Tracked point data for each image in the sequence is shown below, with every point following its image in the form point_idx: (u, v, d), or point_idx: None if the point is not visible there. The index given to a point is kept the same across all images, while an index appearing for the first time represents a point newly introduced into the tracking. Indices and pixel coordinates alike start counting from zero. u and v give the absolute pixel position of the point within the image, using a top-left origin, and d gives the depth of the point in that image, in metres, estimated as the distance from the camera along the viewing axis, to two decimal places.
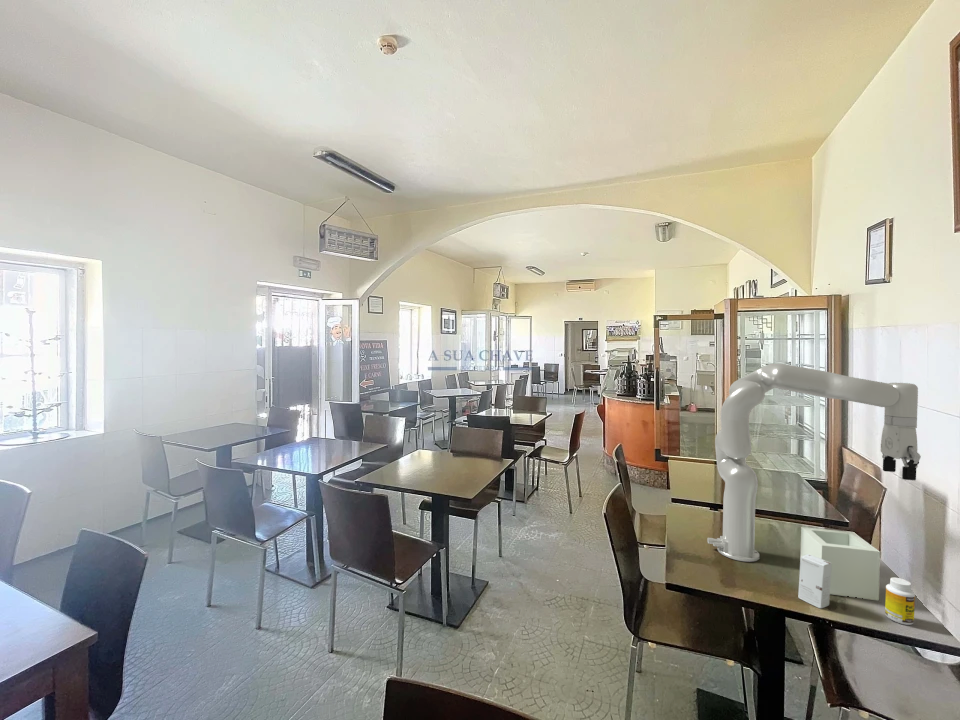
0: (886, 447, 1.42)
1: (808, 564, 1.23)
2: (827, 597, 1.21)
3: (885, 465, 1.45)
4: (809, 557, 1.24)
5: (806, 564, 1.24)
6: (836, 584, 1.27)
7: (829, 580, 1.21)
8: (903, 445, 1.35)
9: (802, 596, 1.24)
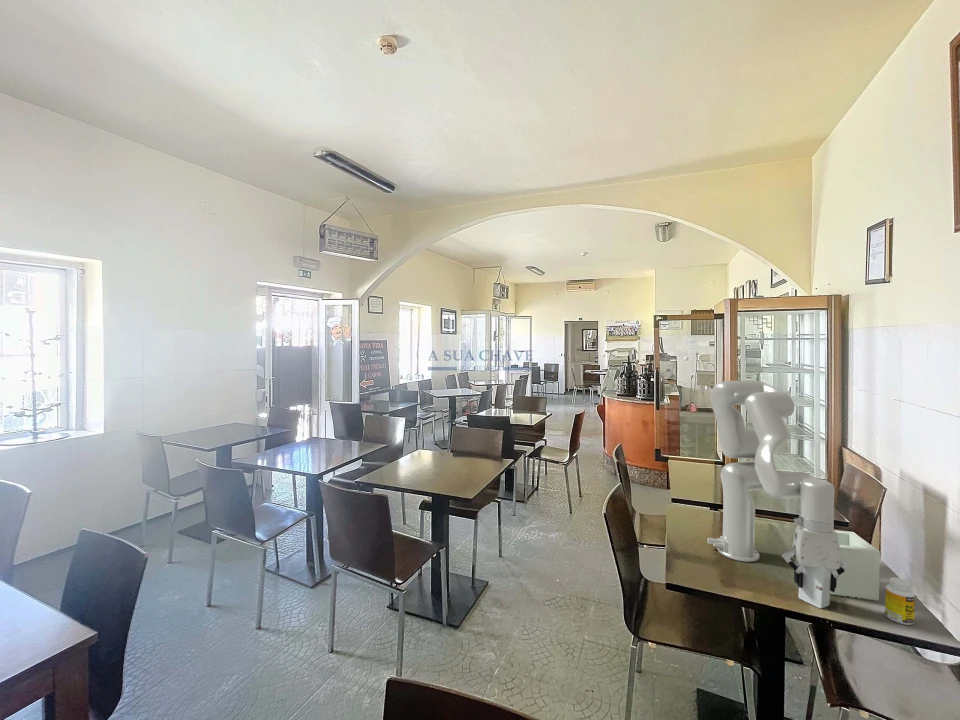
0: (815, 558, 1.21)
1: None
2: (827, 597, 1.21)
3: (802, 580, 1.23)
4: None
5: None
6: (836, 584, 1.27)
7: (829, 580, 1.21)
8: None
9: (802, 596, 1.24)
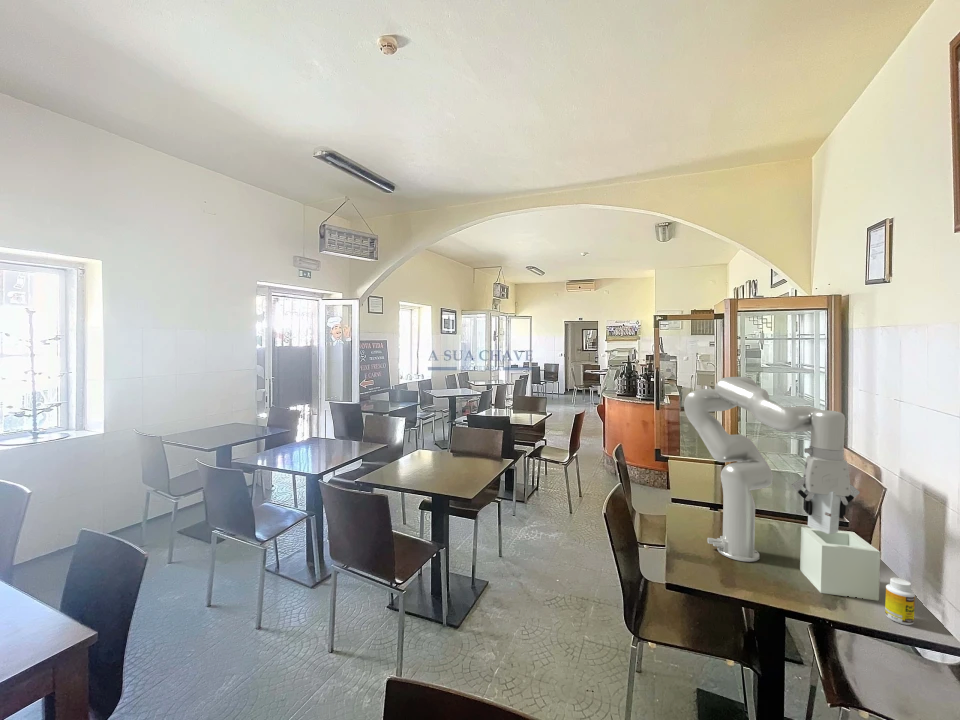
0: (824, 486, 1.24)
1: None
2: (836, 524, 1.24)
3: (811, 508, 1.26)
4: None
5: None
6: (836, 584, 1.27)
7: (838, 507, 1.24)
8: None
9: (811, 524, 1.28)
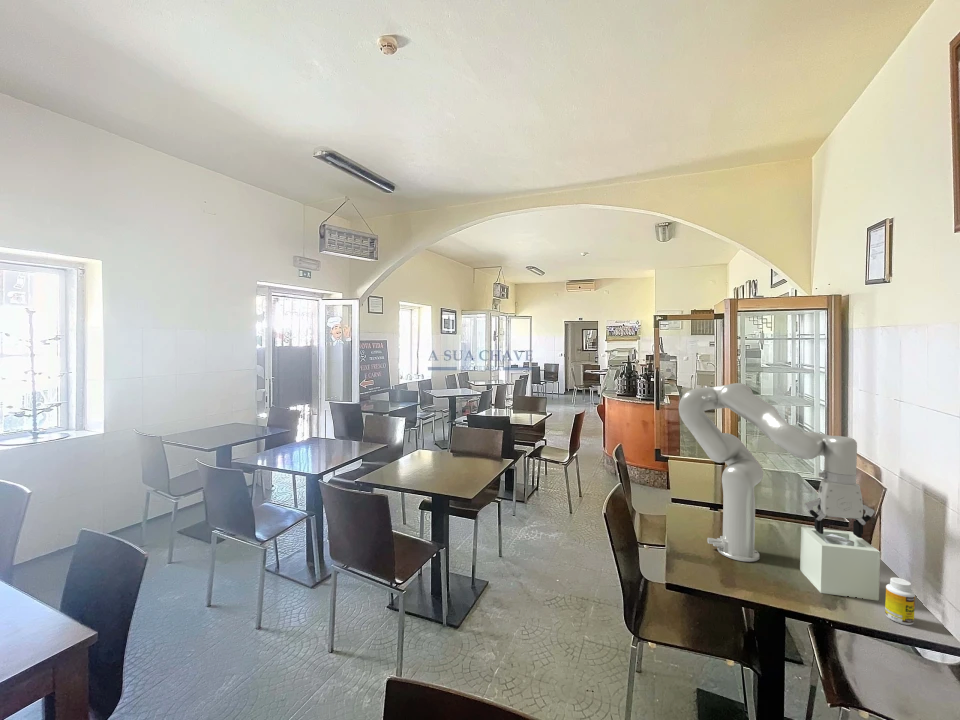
0: (839, 509, 1.30)
1: (832, 542, 1.33)
2: None
3: (822, 527, 1.33)
4: (833, 536, 1.34)
5: (830, 543, 1.33)
6: (836, 584, 1.27)
7: None
8: None
9: None
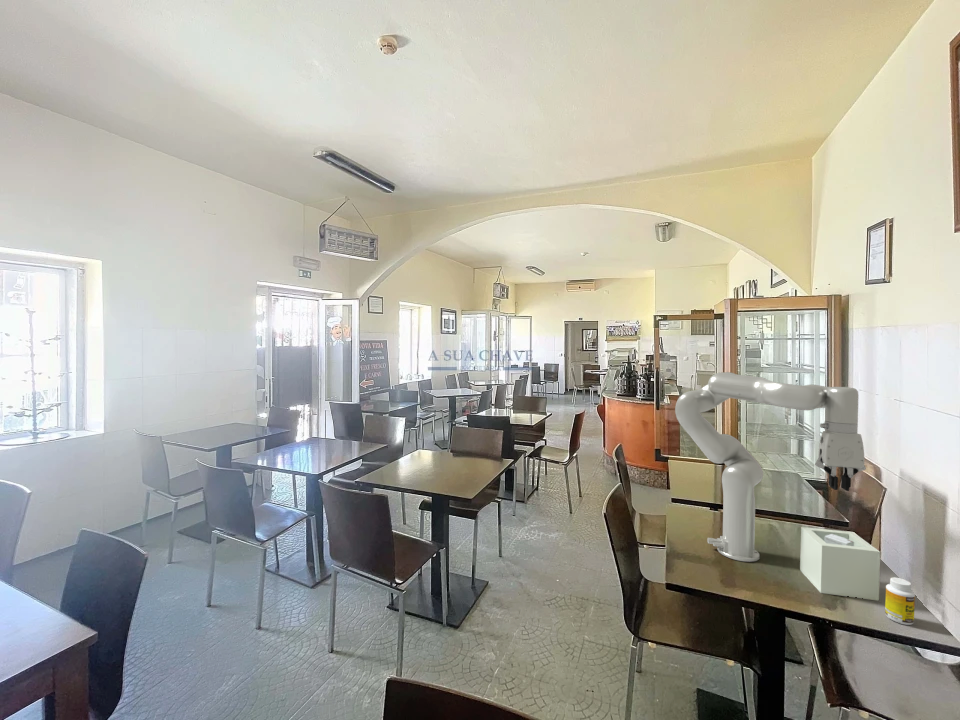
0: (840, 458, 1.30)
1: (832, 542, 1.33)
2: None
3: None
4: (833, 536, 1.34)
5: (830, 543, 1.33)
6: (836, 584, 1.27)
7: None
8: None
9: None
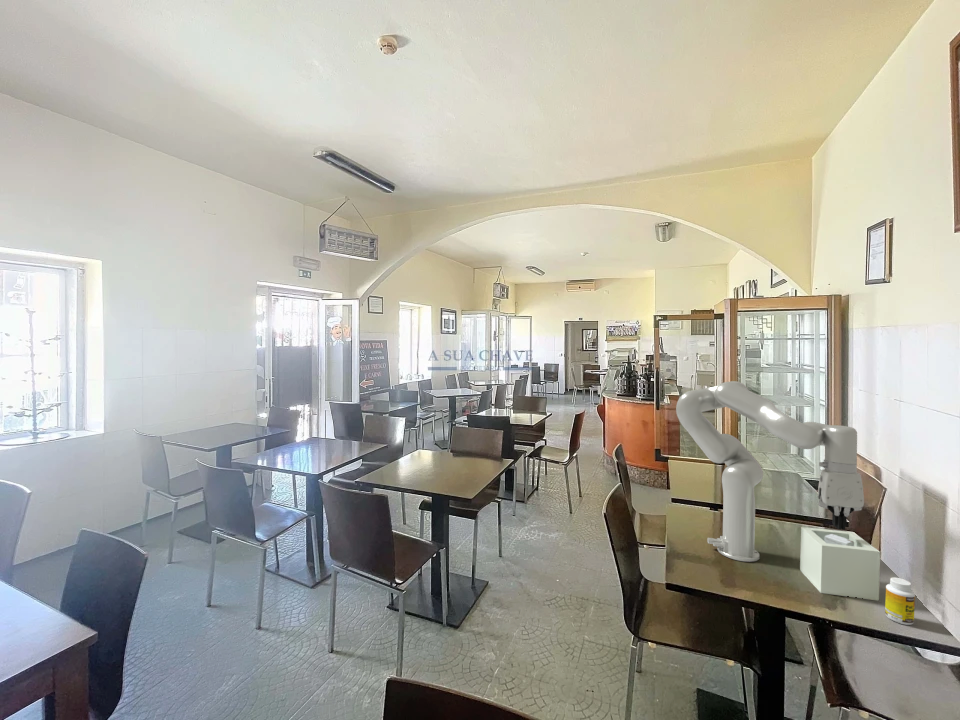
0: (839, 498, 1.30)
1: (832, 542, 1.33)
2: None
3: None
4: (833, 536, 1.34)
5: (830, 543, 1.33)
6: (836, 584, 1.27)
7: None
8: None
9: None
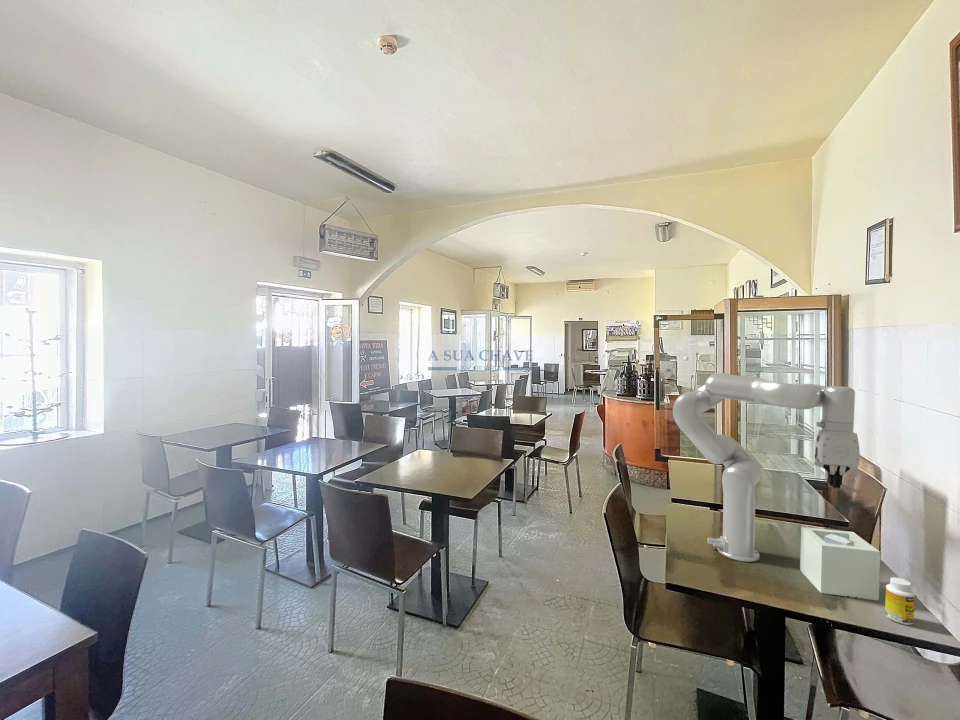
0: (835, 457, 1.32)
1: (832, 542, 1.33)
2: None
3: None
4: (833, 536, 1.34)
5: (830, 543, 1.33)
6: (836, 584, 1.27)
7: None
8: None
9: None
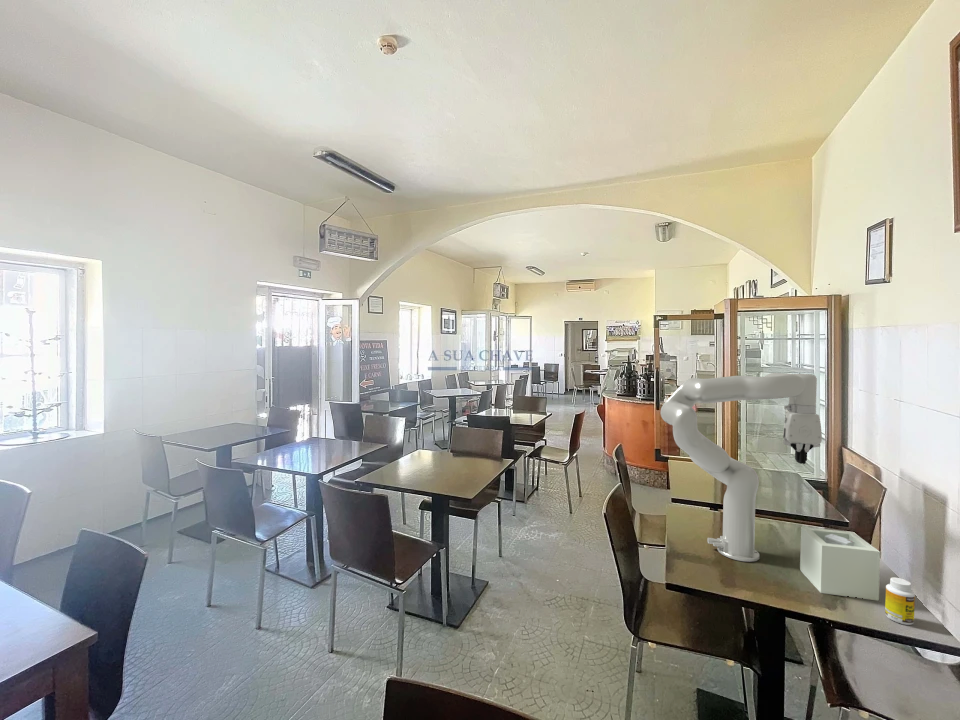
0: (801, 436, 1.49)
1: (832, 542, 1.33)
2: None
3: None
4: (833, 536, 1.34)
5: (830, 543, 1.33)
6: (836, 584, 1.27)
7: None
8: None
9: None
